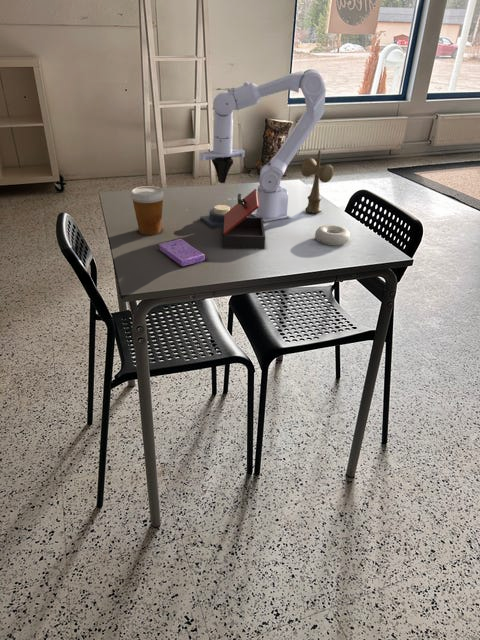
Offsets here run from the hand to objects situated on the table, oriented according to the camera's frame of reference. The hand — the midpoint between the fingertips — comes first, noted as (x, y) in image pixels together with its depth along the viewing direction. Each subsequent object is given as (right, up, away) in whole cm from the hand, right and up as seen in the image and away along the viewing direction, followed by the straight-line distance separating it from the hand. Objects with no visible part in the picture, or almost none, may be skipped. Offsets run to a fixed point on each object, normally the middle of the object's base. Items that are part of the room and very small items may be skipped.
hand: (221, 182), depth 154 cm
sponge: (-10, -26, -22) cm, 35 cm away
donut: (+32, -20, -10) cm, 39 cm away
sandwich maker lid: (+6, -12, -15) cm, 20 cm away
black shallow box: (+7, -19, -11) cm, 23 cm away
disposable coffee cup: (-21, -17, -8) cm, 28 cm away
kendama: (+30, -7, +10) cm, 32 cm away
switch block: (0, -12, 0) cm, 12 cm away
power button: (0, -10, -1) cm, 10 cm away
